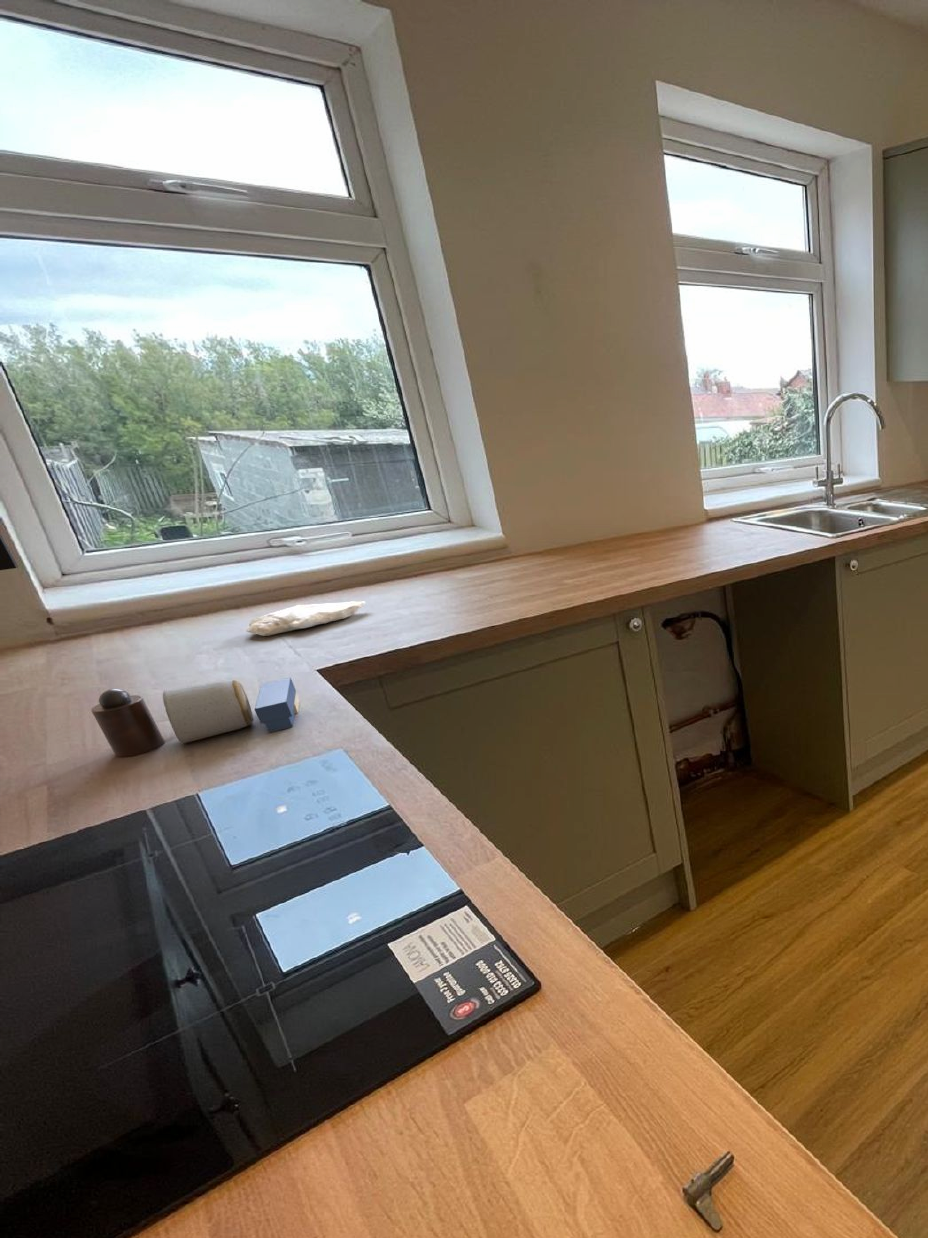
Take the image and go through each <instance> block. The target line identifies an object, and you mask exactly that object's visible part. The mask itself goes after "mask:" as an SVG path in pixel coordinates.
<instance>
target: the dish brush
mask: <svg viewBox="0 0 928 1238" xmlns="http://www.w3.org/2000/svg"><path fill="white" fill-rule="evenodd" d="M300 702H301V700H300V697H299V694H298V692H297V689H296V688H295V685H294V681H293V680H292V677H285V678H281V679H277V680H272V681H267V682H263V683H261V684H260V688H259V691H258V694H257V699H256V702H255V706H254V711H255V714H256V717H257V718H258V720H259V723H260V725H263V724H264V725H265V727H266V730H267V732H268V733H270V734H271V733H274V732H278V731H283V730H286V729H291V728H293V727H294V722H295V715H296V714H299V708H300Z"/></svg>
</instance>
